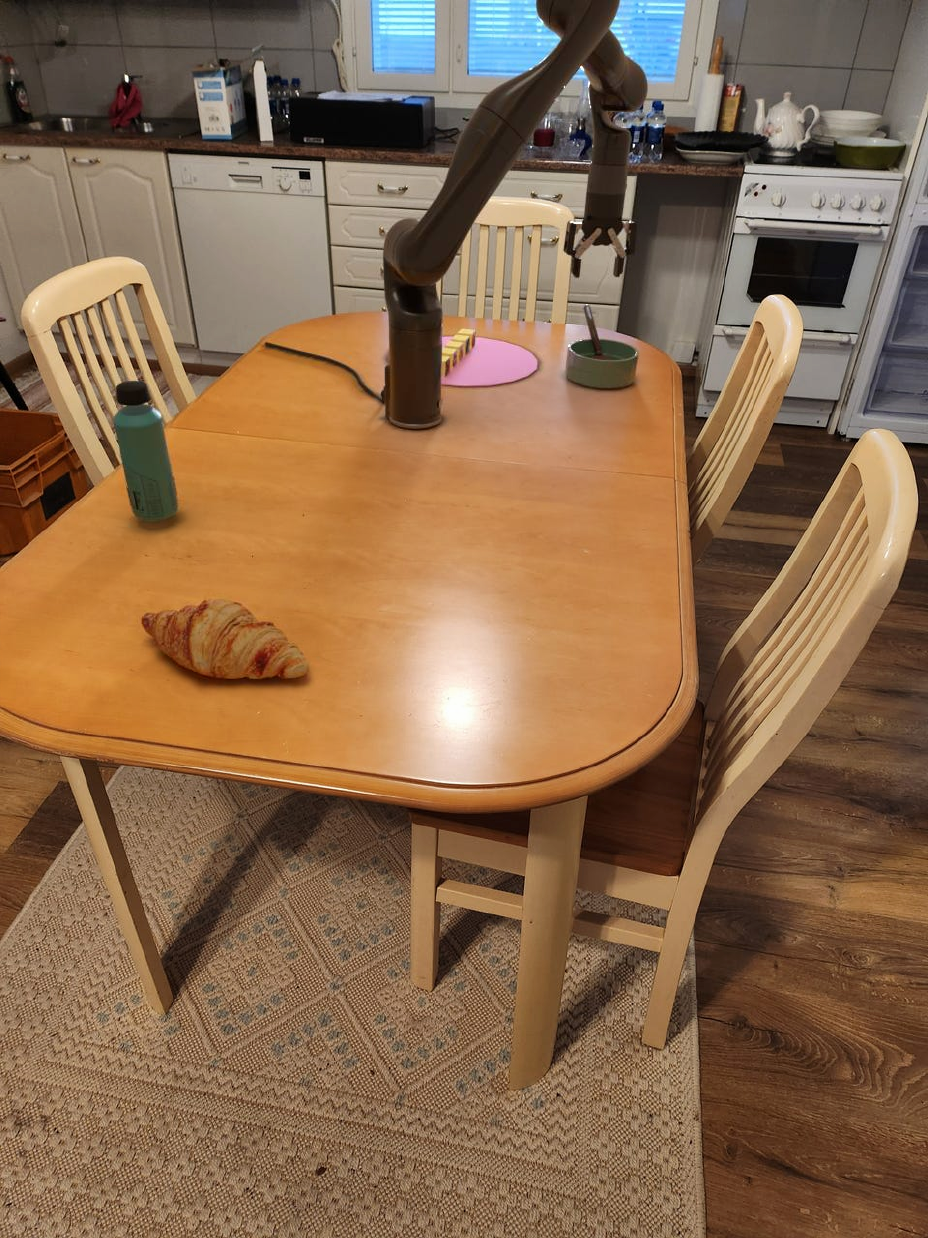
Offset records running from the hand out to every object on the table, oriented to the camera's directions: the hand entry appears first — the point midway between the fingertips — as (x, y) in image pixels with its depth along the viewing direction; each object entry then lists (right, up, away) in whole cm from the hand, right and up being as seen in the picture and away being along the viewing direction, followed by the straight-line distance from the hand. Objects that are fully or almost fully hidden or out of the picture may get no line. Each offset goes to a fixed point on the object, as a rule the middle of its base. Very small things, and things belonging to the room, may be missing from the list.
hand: (596, 276), depth 177 cm
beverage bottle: (-71, -56, -53) cm, 105 cm away
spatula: (0, -13, +2) cm, 14 cm away
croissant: (-54, -75, -79) cm, 121 cm away
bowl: (+1, -20, +2) cm, 20 cm away
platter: (-27, -15, +9) cm, 32 cm away
